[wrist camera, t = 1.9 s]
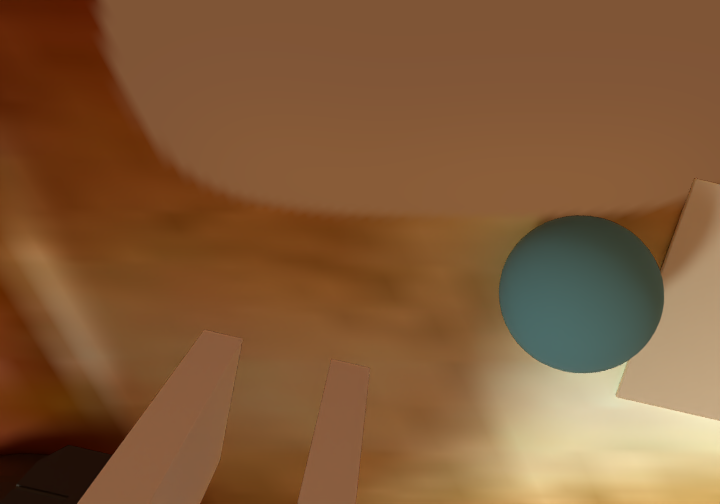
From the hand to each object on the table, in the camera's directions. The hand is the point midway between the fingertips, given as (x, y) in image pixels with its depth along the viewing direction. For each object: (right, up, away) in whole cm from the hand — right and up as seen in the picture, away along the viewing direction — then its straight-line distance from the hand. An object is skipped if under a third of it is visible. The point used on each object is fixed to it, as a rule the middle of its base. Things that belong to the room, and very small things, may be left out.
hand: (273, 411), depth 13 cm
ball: (+10, +2, +13) cm, 16 cm away
